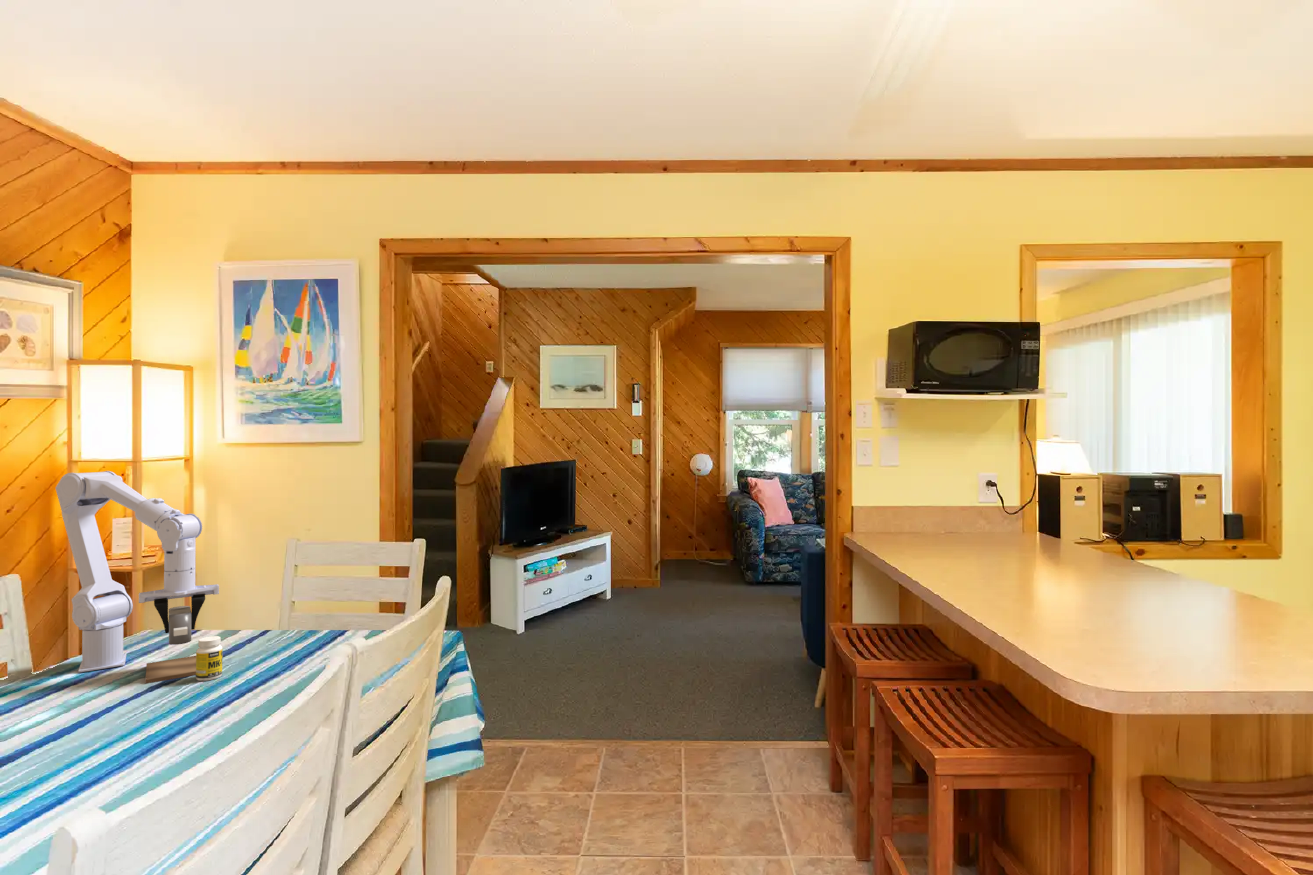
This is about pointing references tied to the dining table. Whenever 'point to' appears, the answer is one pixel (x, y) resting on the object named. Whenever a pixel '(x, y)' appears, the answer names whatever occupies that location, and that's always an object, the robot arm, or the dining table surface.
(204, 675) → the supplement bottle
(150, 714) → the dining table surface
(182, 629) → the grey rounded piece
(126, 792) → the dining table surface
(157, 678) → the walnut board
